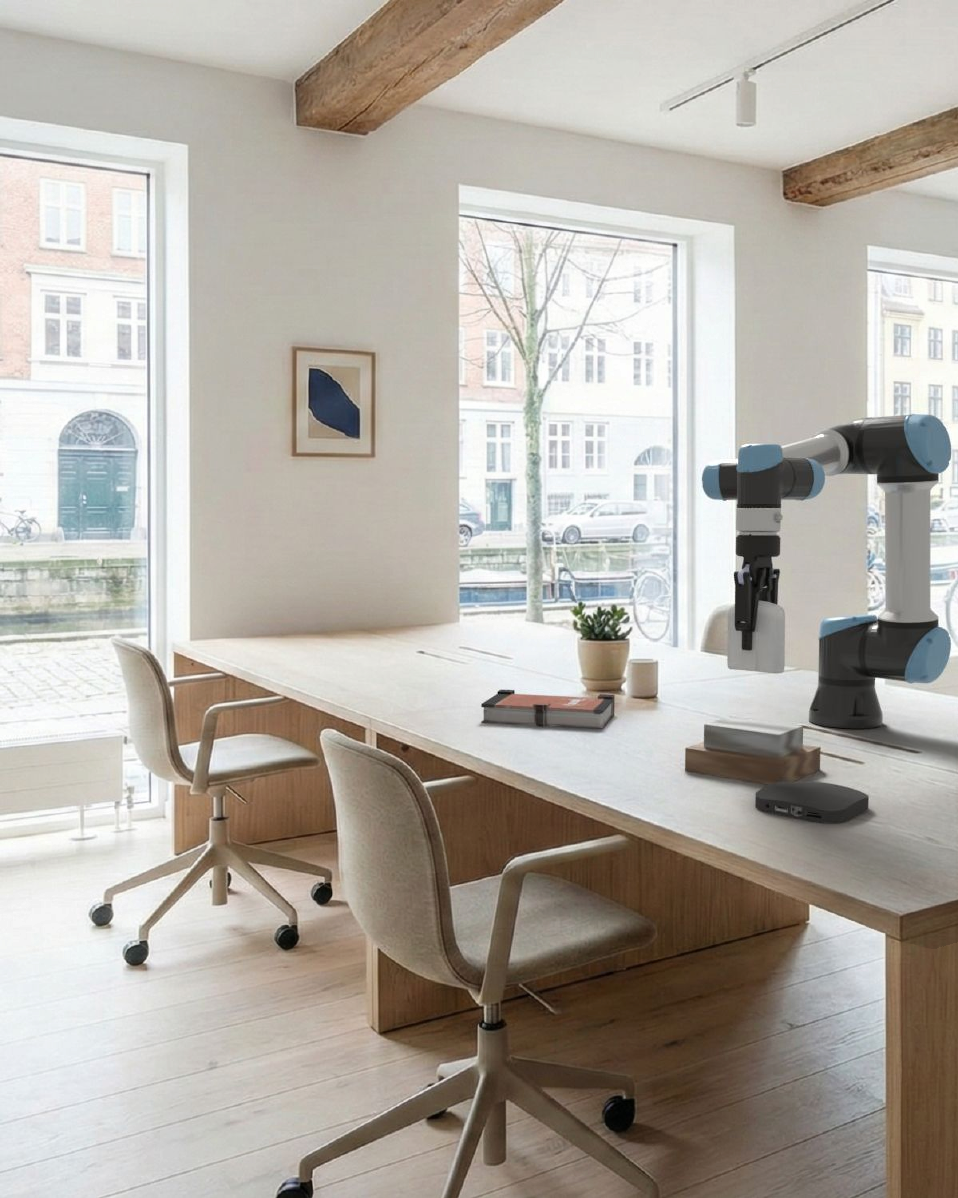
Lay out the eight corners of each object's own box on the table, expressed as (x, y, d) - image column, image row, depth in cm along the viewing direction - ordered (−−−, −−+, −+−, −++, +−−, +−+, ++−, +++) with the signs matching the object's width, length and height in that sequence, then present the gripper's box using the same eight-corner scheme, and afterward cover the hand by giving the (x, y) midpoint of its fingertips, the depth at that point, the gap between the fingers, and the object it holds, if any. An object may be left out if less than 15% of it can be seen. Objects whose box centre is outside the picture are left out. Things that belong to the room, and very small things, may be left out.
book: (480, 725, 238) (480, 702, 238) (500, 711, 255) (500, 689, 254) (601, 732, 231) (601, 708, 231) (614, 716, 248) (614, 694, 247)
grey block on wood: (727, 754, 208) (728, 712, 207) (819, 769, 196) (821, 724, 196) (684, 770, 195) (685, 725, 195) (781, 786, 184) (782, 739, 183)
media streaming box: (876, 808, 172) (877, 789, 172) (837, 829, 161) (837, 809, 161) (788, 792, 182) (788, 774, 182) (745, 811, 171) (746, 792, 171)
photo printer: (723, 669, 196) (724, 599, 195) (735, 666, 199) (736, 598, 198) (776, 675, 189) (777, 603, 188) (788, 672, 192) (789, 601, 191)
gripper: (756, 535, 183) (752, 675, 185) (799, 533, 197) (796, 663, 199) (714, 534, 188) (712, 670, 190) (760, 532, 202) (757, 660, 203)
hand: (755, 666), depth 194 cm, fingers closed on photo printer, 4 cm apart
